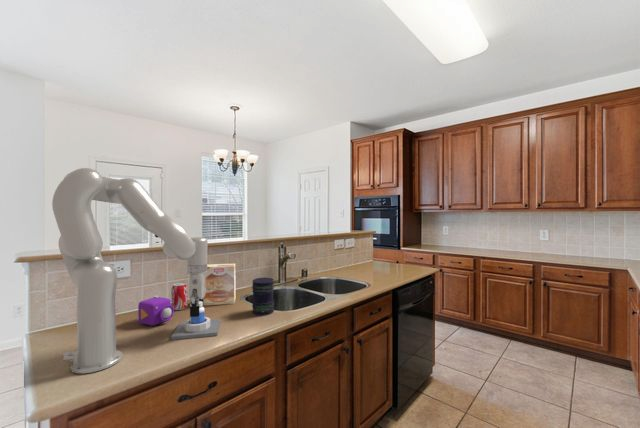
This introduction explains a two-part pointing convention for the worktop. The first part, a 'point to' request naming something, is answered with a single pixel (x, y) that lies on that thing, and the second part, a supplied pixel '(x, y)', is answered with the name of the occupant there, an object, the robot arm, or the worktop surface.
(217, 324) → the mount board
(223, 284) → the coffeecake box
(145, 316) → the toy camera
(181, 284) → the soda can
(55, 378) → the worktop surface
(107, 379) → the worktop surface
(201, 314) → the pill bottle
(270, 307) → the storage jar
